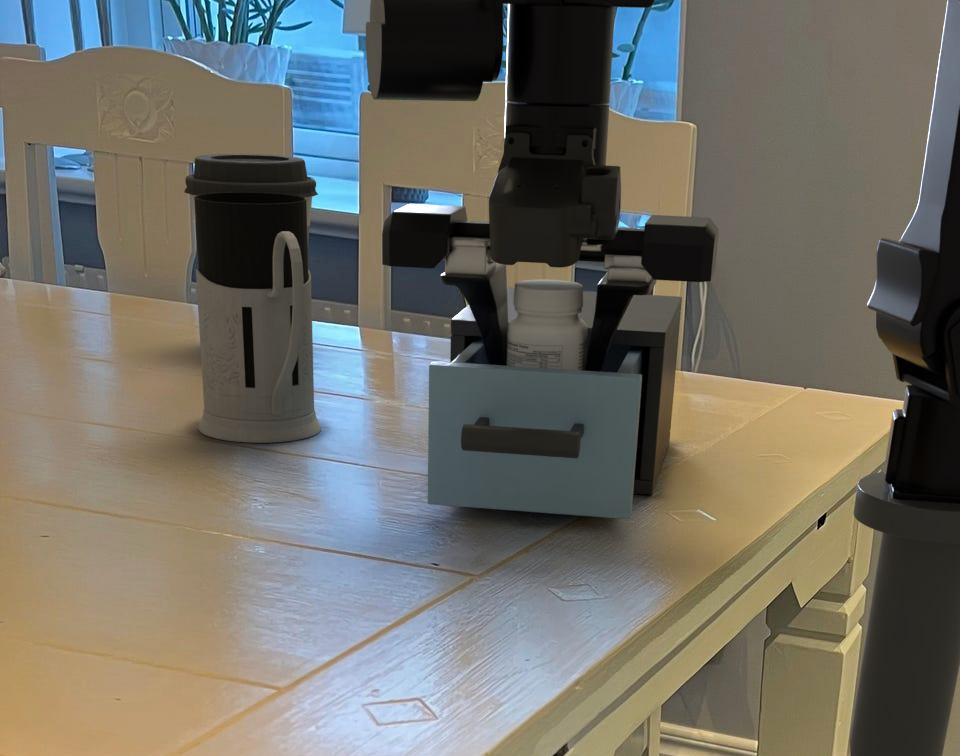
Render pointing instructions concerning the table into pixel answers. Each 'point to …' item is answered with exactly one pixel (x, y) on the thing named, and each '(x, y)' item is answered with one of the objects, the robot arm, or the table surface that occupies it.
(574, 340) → the pill bottle
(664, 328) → the cabinet
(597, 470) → the drawer
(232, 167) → the coffee cup
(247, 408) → the glass holder
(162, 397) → the table surface
